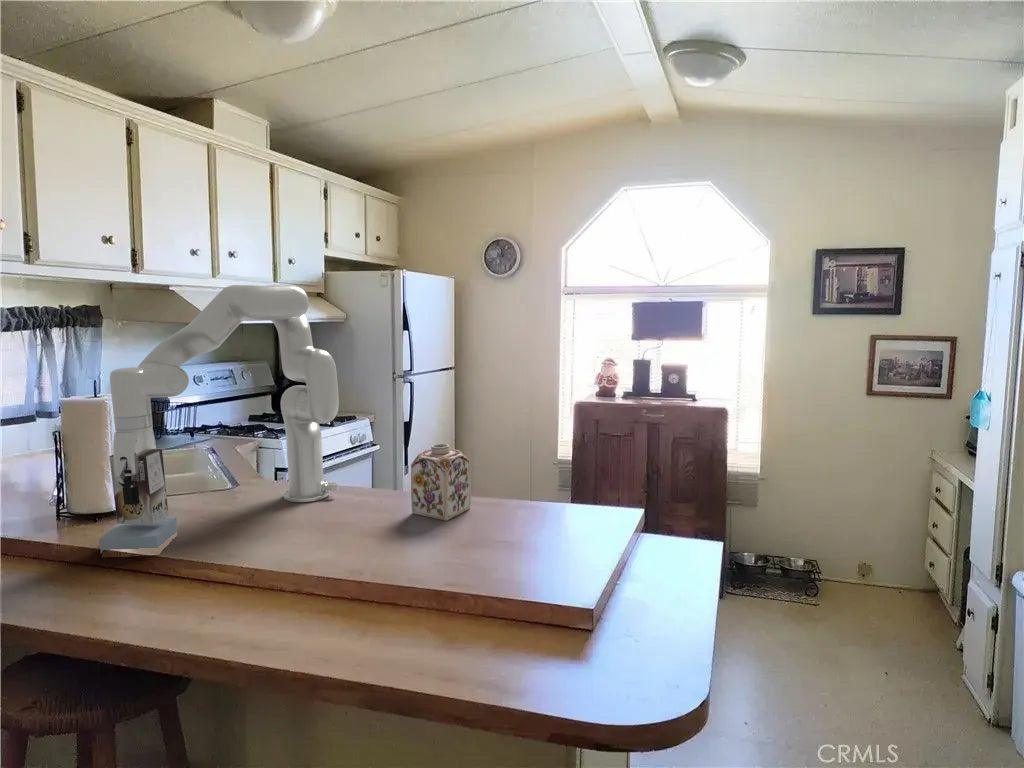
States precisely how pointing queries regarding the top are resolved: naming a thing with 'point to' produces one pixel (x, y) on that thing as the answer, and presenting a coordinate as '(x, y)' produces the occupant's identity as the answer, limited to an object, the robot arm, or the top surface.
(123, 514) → the cookie box
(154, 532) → the grey block
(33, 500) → the top surface
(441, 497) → the decorative jar
